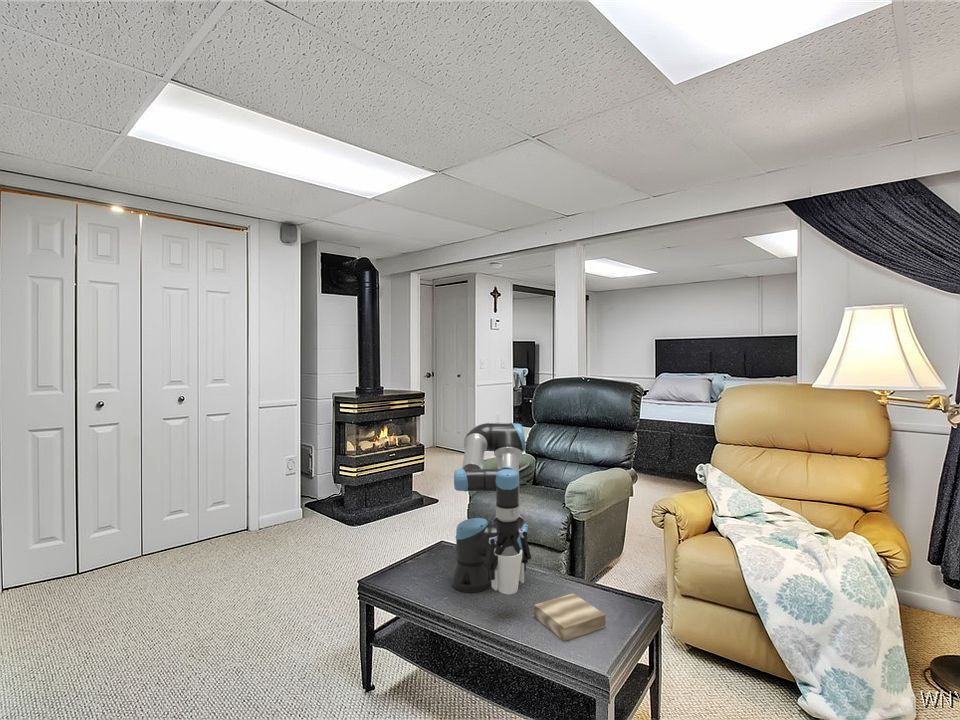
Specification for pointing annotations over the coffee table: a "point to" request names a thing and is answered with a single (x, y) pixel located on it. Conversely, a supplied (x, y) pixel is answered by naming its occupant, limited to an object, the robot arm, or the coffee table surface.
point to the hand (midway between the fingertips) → (507, 584)
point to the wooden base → (569, 616)
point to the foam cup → (508, 570)
